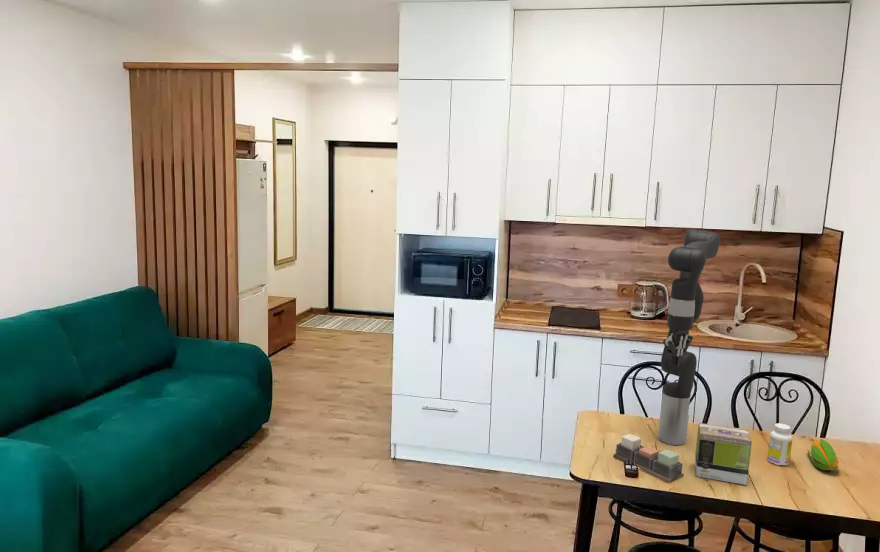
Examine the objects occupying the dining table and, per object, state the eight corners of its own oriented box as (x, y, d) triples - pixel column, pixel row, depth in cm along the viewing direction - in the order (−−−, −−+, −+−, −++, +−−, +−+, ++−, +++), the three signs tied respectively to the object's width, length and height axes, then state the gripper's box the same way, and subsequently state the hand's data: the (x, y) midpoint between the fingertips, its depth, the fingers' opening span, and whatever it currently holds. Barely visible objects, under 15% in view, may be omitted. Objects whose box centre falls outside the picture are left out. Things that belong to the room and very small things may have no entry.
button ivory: (628, 445, 218) (630, 433, 217) (639, 449, 214) (641, 438, 214) (620, 448, 215) (621, 436, 214) (631, 453, 212) (632, 441, 211)
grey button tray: (628, 451, 220) (629, 439, 220) (683, 476, 204) (684, 463, 203) (613, 457, 216) (614, 444, 215) (668, 483, 199) (670, 469, 198)
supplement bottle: (784, 458, 220) (789, 423, 218) (791, 467, 214) (797, 431, 212) (763, 456, 221) (768, 421, 219) (770, 465, 215) (775, 428, 213)
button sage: (665, 461, 207) (666, 449, 206) (677, 466, 203) (678, 454, 203) (657, 464, 204) (658, 452, 203) (669, 470, 201) (670, 458, 200)
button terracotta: (646, 457, 213) (647, 446, 212) (657, 462, 209) (659, 451, 208) (637, 460, 210) (639, 449, 209) (649, 466, 206) (650, 454, 206)
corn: (819, 451, 209) (804, 428, 228) (814, 473, 210) (800, 448, 229) (845, 457, 207) (828, 433, 226) (839, 479, 208) (823, 453, 227)
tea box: (743, 472, 209) (749, 429, 206) (746, 486, 200) (753, 441, 197) (693, 463, 214) (698, 421, 211) (694, 476, 204) (700, 432, 202)
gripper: (682, 308, 207) (676, 360, 210) (657, 312, 199) (652, 366, 202) (704, 313, 201) (697, 366, 204) (679, 317, 193) (673, 373, 196)
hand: (675, 366), depth 203 cm, fingers closed
